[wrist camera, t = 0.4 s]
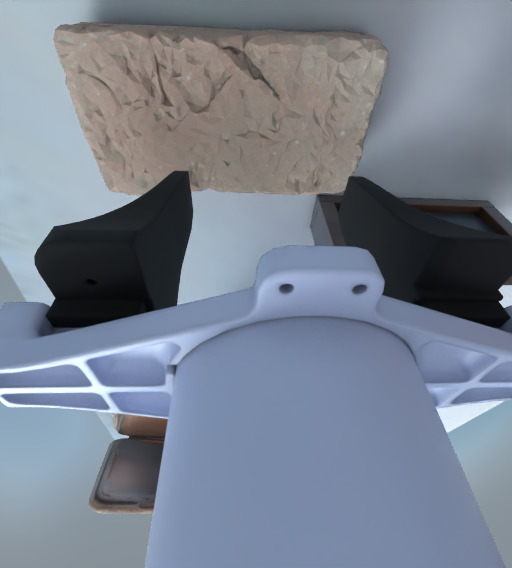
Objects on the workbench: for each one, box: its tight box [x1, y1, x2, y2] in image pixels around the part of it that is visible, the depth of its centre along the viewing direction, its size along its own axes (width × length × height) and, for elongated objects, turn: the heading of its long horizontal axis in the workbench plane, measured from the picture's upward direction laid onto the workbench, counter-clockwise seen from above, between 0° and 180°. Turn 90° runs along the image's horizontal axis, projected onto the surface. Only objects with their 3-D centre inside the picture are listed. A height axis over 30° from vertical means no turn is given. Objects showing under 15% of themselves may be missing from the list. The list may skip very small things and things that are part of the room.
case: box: [89, 413, 168, 514], centre depth 53 cm, size 20×21×16 cm
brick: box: [54, 22, 388, 195], centre depth 18 cm, size 17×8×5 cm, turn 88°
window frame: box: [310, 195, 512, 285], centre depth 24 cm, size 3×15×7 cm, turn 87°
